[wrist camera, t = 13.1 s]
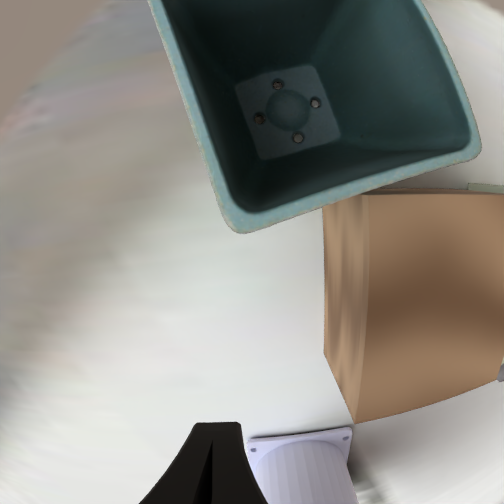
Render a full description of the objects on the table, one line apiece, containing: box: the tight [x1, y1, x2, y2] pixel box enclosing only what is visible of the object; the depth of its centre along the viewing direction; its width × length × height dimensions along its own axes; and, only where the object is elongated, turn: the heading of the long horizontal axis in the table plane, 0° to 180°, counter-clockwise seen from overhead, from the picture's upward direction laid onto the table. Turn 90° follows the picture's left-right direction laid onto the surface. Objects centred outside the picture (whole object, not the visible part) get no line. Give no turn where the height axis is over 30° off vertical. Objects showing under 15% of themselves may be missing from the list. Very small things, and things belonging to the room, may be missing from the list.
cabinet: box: [323, 188, 504, 424], centre depth 14 cm, size 10×9×7 cm
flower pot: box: [147, 0, 482, 234], centre depth 11 cm, size 9×9×9 cm
